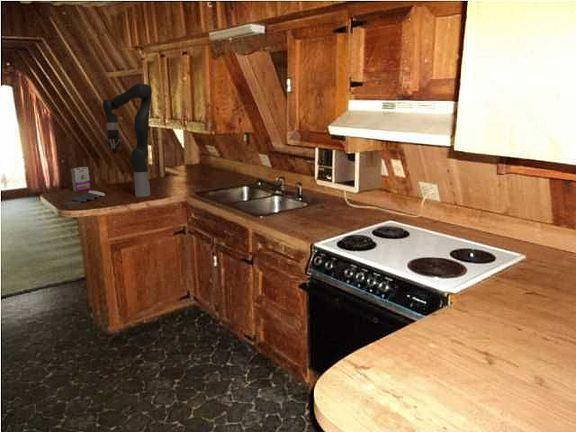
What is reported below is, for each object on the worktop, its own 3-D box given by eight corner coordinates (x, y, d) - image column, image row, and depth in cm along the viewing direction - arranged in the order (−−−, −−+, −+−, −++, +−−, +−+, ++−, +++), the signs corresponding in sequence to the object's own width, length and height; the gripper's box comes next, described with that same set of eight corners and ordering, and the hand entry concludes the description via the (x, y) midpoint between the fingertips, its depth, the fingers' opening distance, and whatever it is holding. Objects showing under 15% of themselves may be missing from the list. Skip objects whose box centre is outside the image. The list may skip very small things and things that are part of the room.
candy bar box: (87, 188, 337) (85, 166, 332) (91, 189, 334) (88, 167, 329) (72, 190, 328) (70, 168, 324) (76, 191, 325) (74, 169, 321)
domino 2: (81, 197, 301) (68, 195, 292) (86, 198, 298) (73, 196, 290) (81, 201, 301) (67, 199, 292) (86, 201, 298) (72, 199, 289)
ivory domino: (98, 192, 316) (88, 190, 307) (104, 193, 315) (95, 191, 306) (98, 195, 316) (88, 193, 307) (104, 196, 315) (94, 194, 305)
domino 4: (93, 194, 311) (83, 192, 301) (99, 195, 310) (89, 192, 300) (92, 197, 311) (82, 195, 301) (99, 198, 310) (89, 195, 300)
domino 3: (89, 196, 305) (76, 193, 296) (94, 197, 303) (82, 194, 294) (88, 199, 305) (76, 197, 296) (93, 200, 303) (81, 197, 294)
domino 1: (74, 200, 295) (62, 203, 286) (80, 201, 293) (68, 204, 284) (75, 203, 295) (62, 206, 286) (81, 204, 294) (68, 207, 285)
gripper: (124, 128, 321) (126, 153, 326) (107, 128, 324) (110, 152, 329) (117, 129, 314) (119, 154, 319) (101, 128, 317) (103, 153, 322)
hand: (114, 153), depth 324 cm, fingers closed
